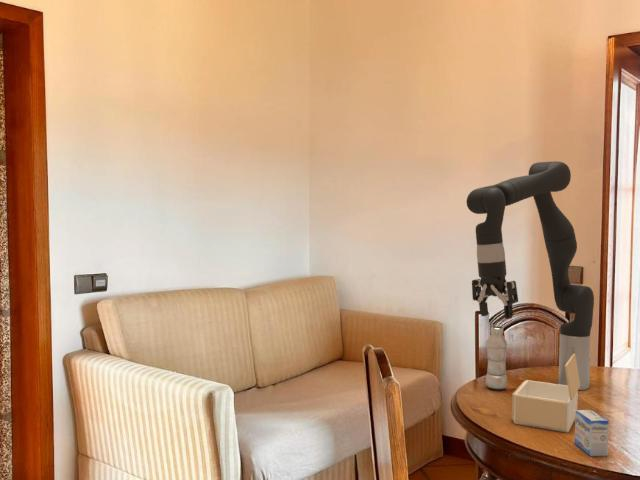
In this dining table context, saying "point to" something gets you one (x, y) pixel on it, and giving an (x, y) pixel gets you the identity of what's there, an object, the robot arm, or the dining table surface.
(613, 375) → the dining table surface
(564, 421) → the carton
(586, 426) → the medicine box
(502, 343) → the plastic bottle
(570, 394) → the flap
